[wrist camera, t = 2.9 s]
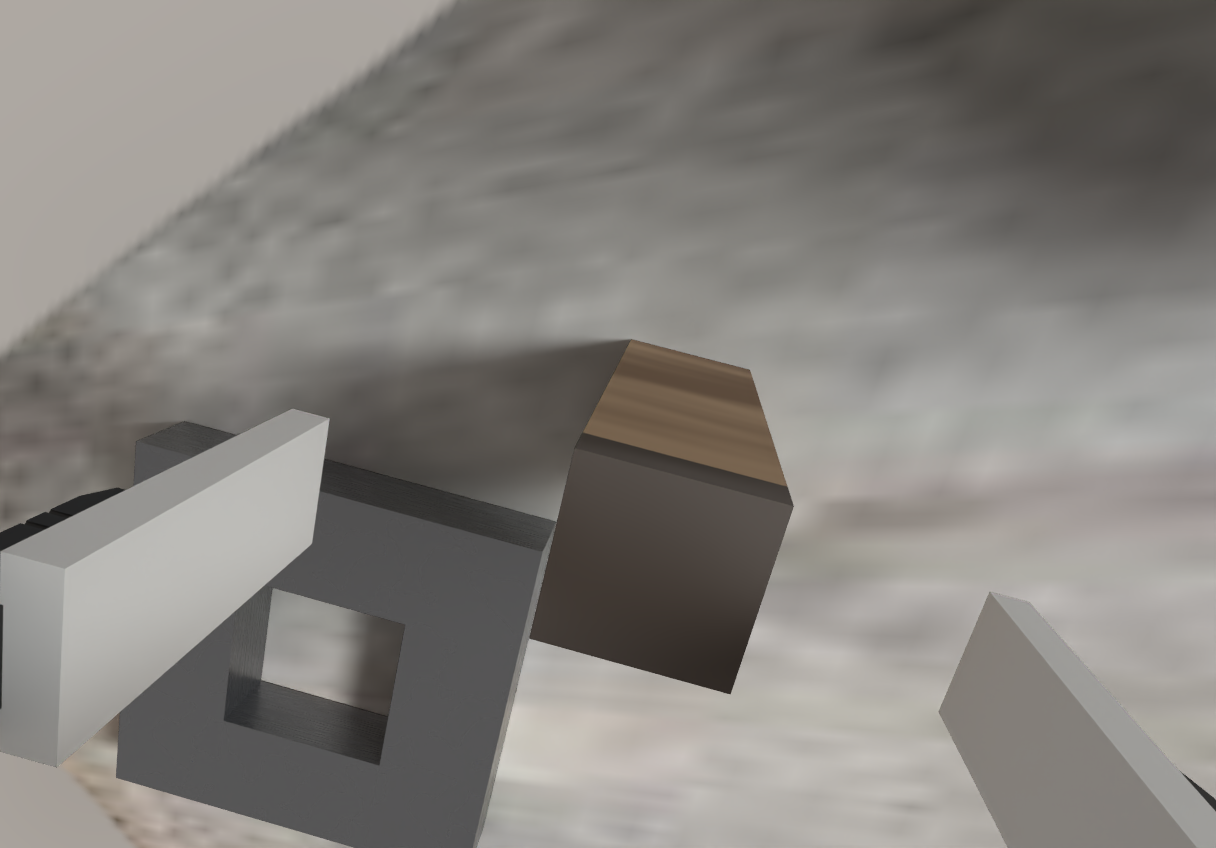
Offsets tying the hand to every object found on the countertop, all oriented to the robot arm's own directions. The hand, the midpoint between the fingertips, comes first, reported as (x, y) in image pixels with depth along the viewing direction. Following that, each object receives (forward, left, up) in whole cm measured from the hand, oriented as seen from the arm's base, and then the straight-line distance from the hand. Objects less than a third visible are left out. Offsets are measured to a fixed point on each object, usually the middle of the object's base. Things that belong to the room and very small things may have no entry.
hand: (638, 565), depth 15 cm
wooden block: (0, 0, -11) cm, 11 cm away
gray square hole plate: (+12, -10, -11) cm, 19 cm away
